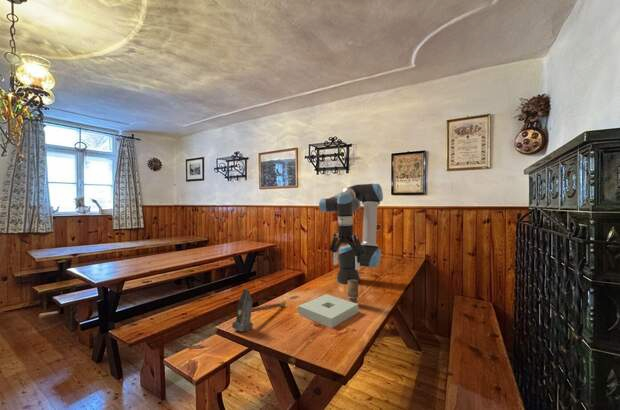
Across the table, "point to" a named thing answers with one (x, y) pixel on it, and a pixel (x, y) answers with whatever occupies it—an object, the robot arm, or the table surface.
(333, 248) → the robot arm
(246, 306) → the hammer
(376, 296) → the table surface
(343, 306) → the board
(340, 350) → the table surface
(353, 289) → the peg
